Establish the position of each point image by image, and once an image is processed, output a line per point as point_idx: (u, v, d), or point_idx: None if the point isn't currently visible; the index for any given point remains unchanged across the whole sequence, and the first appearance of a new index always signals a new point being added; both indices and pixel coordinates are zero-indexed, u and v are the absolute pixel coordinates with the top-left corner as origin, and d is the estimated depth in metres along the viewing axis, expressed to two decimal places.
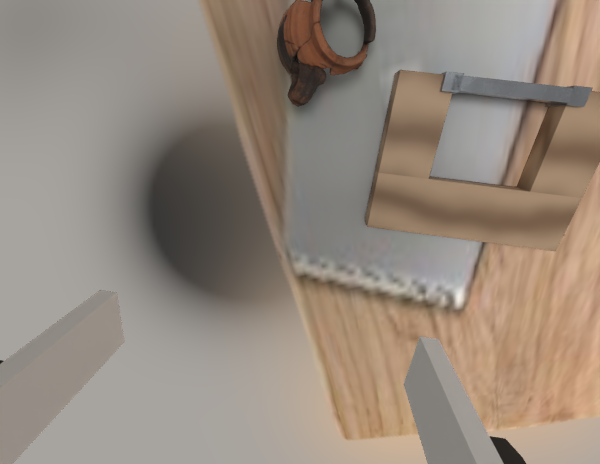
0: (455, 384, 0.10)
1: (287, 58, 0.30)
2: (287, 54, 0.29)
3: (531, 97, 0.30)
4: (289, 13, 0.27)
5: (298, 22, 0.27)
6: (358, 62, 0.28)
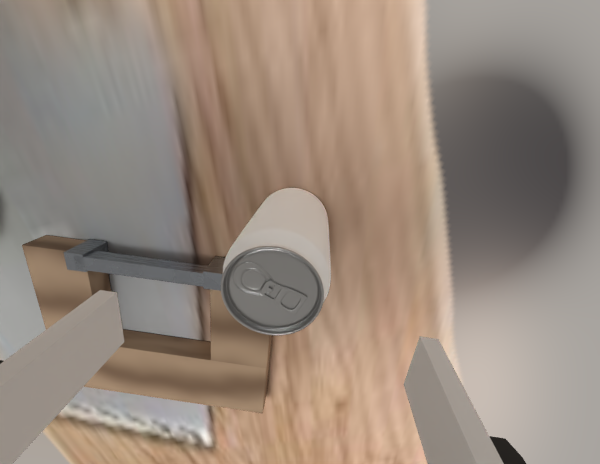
0: (455, 384, 0.10)
1: None
2: None
3: (163, 280, 0.26)
4: None
5: None
6: None
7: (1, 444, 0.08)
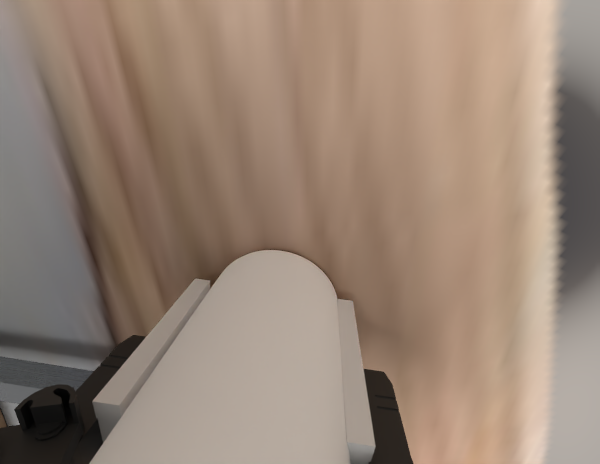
0: (351, 331, 0.11)
1: None
2: None
3: None
4: None
5: None
6: None
7: None
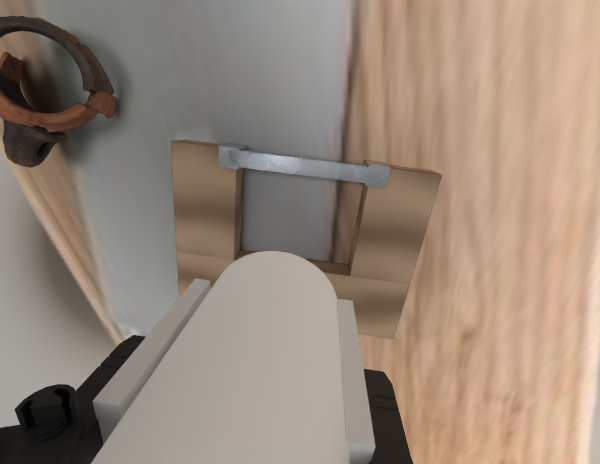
0: (351, 331, 0.11)
1: None
2: None
3: (322, 176, 0.25)
4: None
5: None
6: (73, 117, 0.23)
7: None
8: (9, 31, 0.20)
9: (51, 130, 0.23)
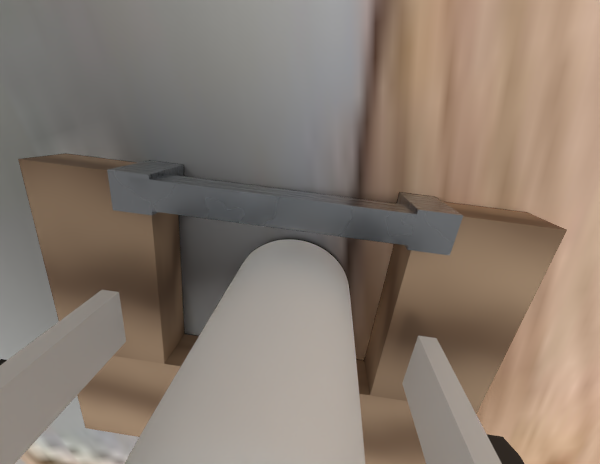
0: (453, 383, 0.10)
1: None
2: None
3: (320, 231, 0.12)
4: None
5: None
6: None
7: (5, 443, 0.08)
8: None
9: None
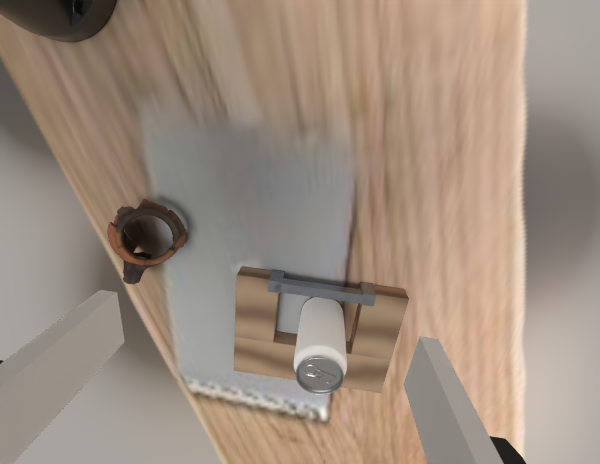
0: (455, 384, 0.10)
1: None
2: None
3: (333, 299, 0.39)
4: (108, 230, 0.36)
5: (111, 240, 0.35)
6: (167, 258, 0.37)
7: (1, 444, 0.08)
8: (134, 217, 0.34)
9: None
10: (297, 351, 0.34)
